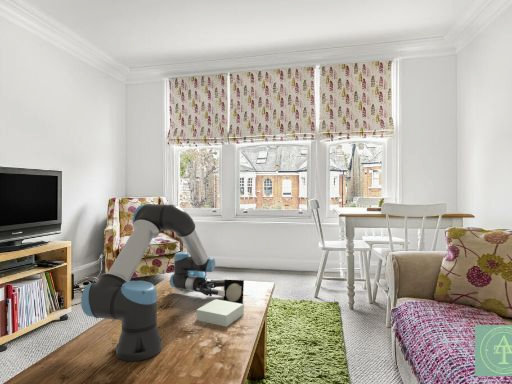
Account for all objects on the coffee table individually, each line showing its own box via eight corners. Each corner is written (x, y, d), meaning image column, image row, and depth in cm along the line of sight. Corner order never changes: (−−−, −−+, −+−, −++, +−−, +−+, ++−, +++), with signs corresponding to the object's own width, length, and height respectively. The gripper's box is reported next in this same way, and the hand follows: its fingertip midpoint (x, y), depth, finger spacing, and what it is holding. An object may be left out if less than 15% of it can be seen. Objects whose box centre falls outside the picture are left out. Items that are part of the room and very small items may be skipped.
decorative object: (225, 304, 167) (244, 305, 166) (222, 306, 158) (241, 307, 157) (227, 279, 171) (245, 280, 170) (223, 279, 161) (243, 280, 160)
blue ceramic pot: (188, 291, 184) (189, 271, 184) (177, 283, 196) (178, 265, 195) (208, 287, 192) (209, 268, 192) (196, 280, 203) (197, 262, 203)
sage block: (226, 327, 136) (226, 315, 136) (196, 321, 143) (196, 309, 143) (243, 315, 150) (243, 304, 150) (215, 309, 156) (215, 299, 156)
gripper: (209, 284, 186) (243, 290, 176) (181, 298, 163) (217, 304, 154) (209, 271, 185) (243, 276, 176) (181, 282, 163) (217, 288, 154)
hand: (231, 289), depth 165 cm, fingers open, 13 cm apart
